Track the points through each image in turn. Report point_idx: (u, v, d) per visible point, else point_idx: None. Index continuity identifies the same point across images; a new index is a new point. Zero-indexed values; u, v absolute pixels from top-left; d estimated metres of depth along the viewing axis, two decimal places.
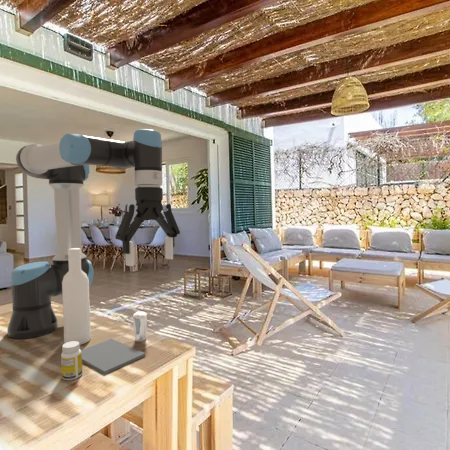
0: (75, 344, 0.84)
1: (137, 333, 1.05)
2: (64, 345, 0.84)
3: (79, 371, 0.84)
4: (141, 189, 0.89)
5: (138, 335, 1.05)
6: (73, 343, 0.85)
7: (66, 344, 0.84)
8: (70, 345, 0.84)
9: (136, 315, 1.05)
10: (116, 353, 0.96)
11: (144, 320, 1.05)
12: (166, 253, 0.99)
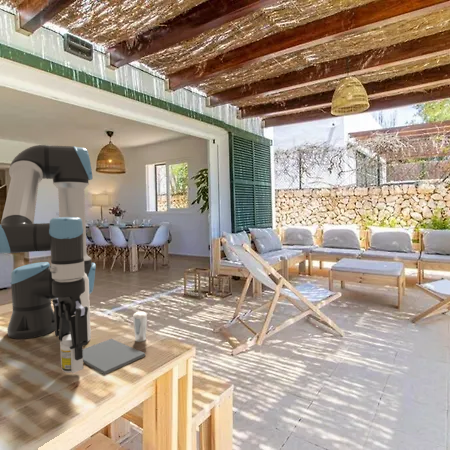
0: None
1: (137, 333, 1.05)
2: (64, 337, 0.84)
3: None
4: None
5: (138, 335, 1.05)
6: None
7: (66, 337, 0.84)
8: (70, 337, 0.84)
9: (136, 315, 1.05)
10: (116, 353, 0.96)
11: (144, 320, 1.05)
12: None
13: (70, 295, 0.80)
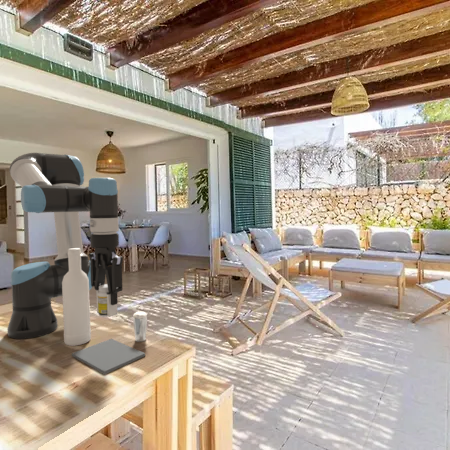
0: None
1: (137, 333, 1.05)
2: (101, 286, 0.94)
3: None
4: None
5: (138, 335, 1.05)
6: None
7: (102, 285, 0.94)
8: (105, 286, 0.94)
9: (136, 315, 1.05)
10: (116, 353, 0.96)
11: (144, 320, 1.05)
12: None
13: (107, 246, 0.90)
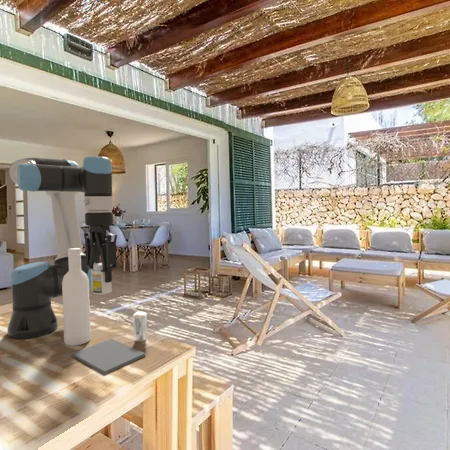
0: None
1: (137, 333, 1.05)
2: (95, 264, 0.95)
3: None
4: None
5: (138, 335, 1.05)
6: None
7: (96, 264, 0.96)
8: (100, 264, 0.95)
9: (136, 315, 1.05)
10: (116, 353, 0.96)
11: (144, 320, 1.05)
12: None
13: (101, 224, 0.92)
